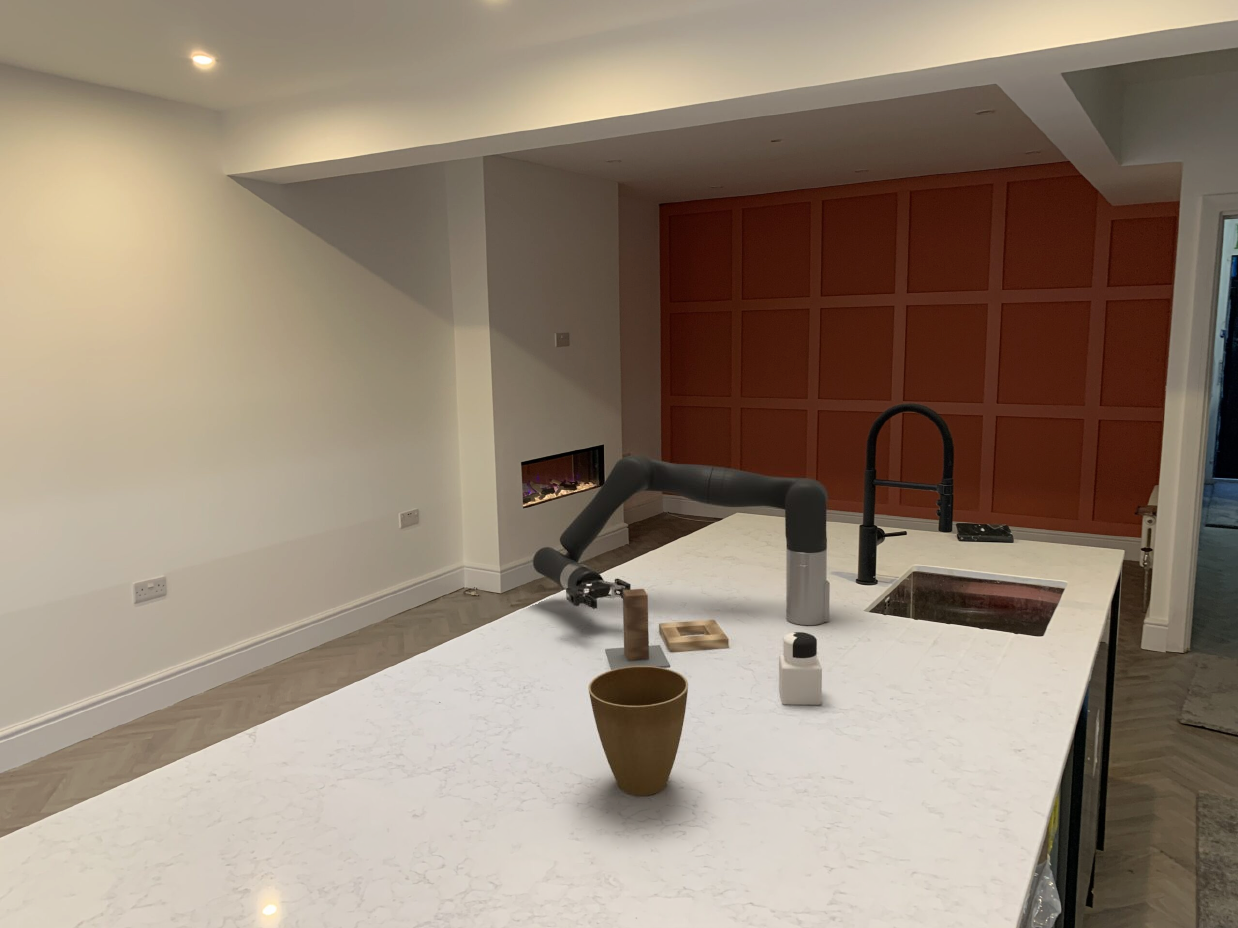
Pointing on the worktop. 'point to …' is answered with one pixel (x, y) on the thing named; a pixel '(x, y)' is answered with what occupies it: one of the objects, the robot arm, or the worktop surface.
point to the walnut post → (635, 624)
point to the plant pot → (639, 724)
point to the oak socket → (709, 640)
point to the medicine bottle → (800, 670)
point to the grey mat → (620, 661)
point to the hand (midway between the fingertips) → (613, 600)
